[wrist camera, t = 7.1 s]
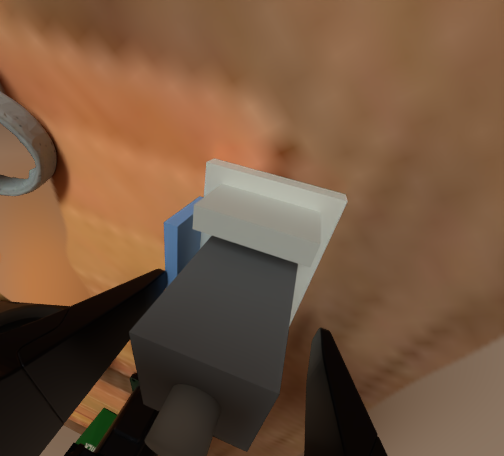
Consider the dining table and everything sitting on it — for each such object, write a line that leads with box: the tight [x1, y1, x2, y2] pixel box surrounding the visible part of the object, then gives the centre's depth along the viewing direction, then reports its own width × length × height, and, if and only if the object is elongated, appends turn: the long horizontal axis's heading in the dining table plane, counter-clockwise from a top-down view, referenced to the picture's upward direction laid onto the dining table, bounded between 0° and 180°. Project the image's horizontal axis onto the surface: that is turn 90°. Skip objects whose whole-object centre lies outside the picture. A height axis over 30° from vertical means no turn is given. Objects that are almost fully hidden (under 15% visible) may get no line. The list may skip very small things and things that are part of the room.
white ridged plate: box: [164, 158, 347, 326], centre depth 13 cm, size 18×7×3 cm, turn 168°
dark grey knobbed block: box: [129, 236, 298, 456], centre depth 8 cm, size 4×4×7 cm
